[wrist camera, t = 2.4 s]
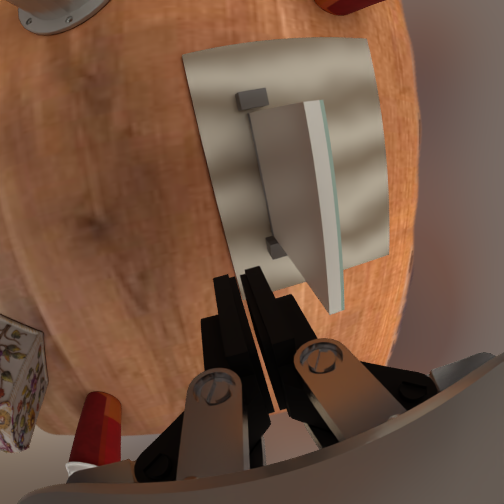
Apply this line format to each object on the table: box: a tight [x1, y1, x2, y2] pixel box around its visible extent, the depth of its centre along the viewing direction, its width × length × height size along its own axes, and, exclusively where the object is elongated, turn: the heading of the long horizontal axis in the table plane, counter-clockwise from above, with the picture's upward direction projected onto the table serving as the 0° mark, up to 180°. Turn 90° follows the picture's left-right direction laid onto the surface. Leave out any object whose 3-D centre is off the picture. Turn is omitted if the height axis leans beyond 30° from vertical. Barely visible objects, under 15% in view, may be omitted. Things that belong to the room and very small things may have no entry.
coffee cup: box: [66, 392, 121, 476], centre depth 31 cm, size 8×8×15 cm
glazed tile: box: [247, 100, 344, 315], centre depth 21 cm, size 12×1×14 cm, turn 12°
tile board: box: [182, 37, 389, 300], centre depth 27 cm, size 26×19×3 cm
